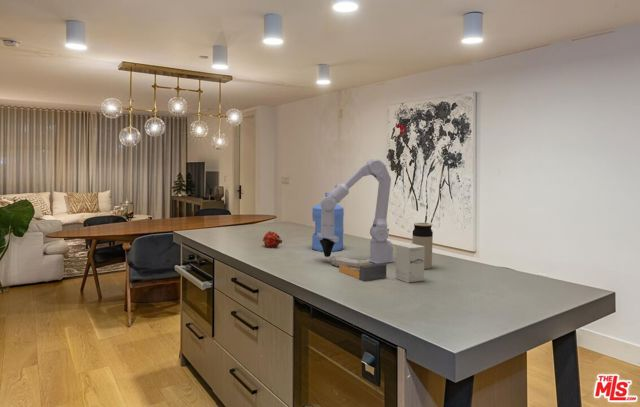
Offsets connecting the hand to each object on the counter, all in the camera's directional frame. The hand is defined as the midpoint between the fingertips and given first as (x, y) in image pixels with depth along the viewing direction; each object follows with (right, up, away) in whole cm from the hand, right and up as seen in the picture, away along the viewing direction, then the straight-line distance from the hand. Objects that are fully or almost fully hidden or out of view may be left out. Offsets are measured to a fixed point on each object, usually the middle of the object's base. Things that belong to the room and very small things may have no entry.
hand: (327, 256), depth 186 cm
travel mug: (+38, -4, -8) cm, 39 cm away
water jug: (+1, 0, +31) cm, 31 cm away
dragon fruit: (-27, 0, +35) cm, 45 cm away
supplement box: (+29, -5, -28) cm, 41 cm away
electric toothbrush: (+9, -4, -15) cm, 18 cm away
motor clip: (+13, -4, -21) cm, 25 cm away
